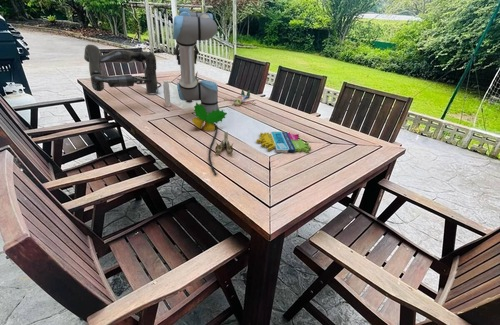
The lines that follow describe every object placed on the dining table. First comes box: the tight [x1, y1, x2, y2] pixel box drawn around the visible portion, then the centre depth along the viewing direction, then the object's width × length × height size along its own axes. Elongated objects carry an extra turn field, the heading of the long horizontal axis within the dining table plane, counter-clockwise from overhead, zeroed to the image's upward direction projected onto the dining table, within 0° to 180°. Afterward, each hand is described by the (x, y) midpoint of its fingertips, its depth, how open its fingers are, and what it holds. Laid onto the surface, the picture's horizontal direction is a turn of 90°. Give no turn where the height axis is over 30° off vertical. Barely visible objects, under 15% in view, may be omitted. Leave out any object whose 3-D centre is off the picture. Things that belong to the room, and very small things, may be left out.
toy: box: [223, 89, 257, 106], centre depth 219 cm, size 28×7×30 cm
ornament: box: [191, 102, 228, 132], centre depth 162 cm, size 21×8×15 cm, turn 105°
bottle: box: [162, 80, 172, 107], centre depth 195 cm, size 4×4×18 cm
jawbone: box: [214, 131, 234, 156], centre depth 136 cm, size 9×15×10 cm
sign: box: [256, 131, 312, 154], centre depth 152 cm, size 26×2×30 cm
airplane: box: [177, 71, 204, 83], centre depth 255 cm, size 38×32×10 cm
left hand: (149, 79), depth 184 cm, fingers open, 8 cm apart
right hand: (187, 64), depth 198 cm, fingers open, 13 cm apart
